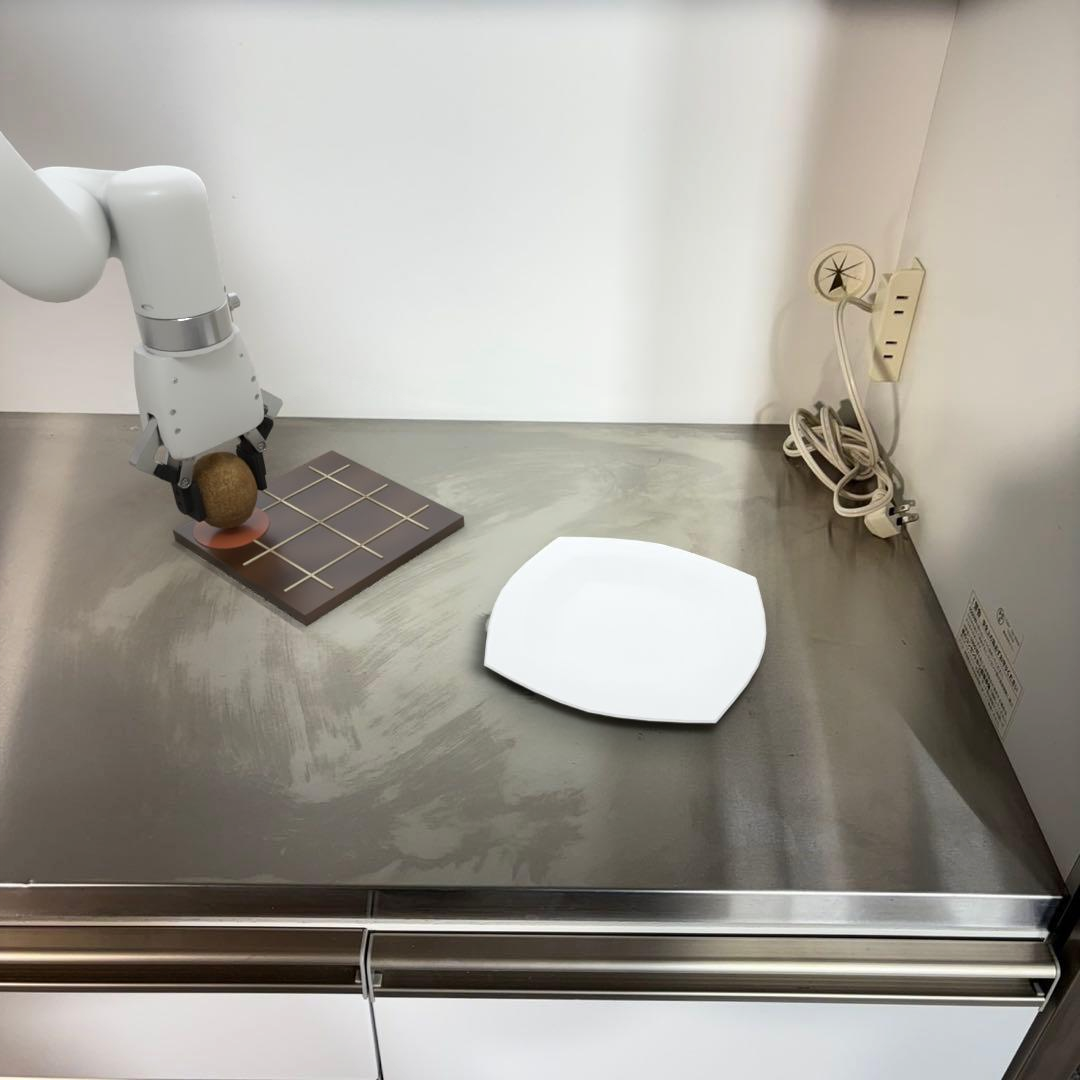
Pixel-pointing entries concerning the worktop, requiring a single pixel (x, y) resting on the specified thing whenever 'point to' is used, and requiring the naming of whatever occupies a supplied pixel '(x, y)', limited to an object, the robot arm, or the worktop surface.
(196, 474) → the fruit
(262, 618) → the worktop surface
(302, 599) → the board
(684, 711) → the plate
